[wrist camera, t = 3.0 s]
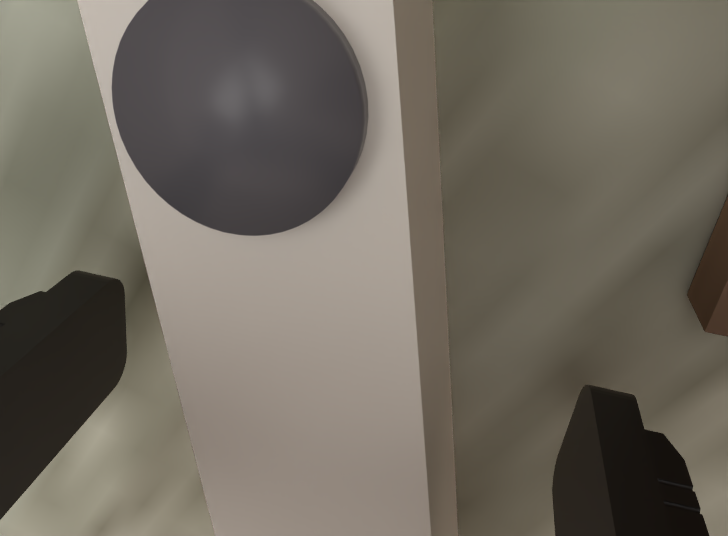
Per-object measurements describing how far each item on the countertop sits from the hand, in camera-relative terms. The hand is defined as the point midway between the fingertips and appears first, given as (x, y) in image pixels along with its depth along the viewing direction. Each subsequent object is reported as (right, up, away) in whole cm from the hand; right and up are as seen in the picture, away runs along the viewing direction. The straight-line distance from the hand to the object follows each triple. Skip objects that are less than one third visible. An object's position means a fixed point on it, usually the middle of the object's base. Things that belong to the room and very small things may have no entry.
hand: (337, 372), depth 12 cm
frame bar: (0, +1, +2) cm, 2 cm away
